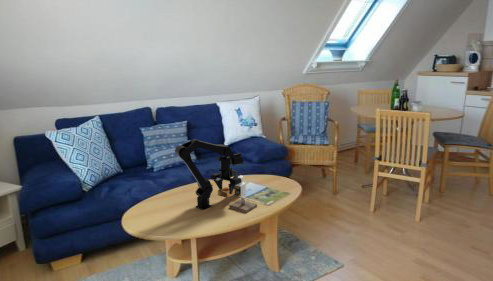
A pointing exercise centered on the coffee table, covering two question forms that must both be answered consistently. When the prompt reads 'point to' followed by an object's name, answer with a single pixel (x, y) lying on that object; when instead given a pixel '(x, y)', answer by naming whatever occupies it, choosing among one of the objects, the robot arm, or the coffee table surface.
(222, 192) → the brown hollow square block
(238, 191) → the medicine bottle
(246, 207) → the keeper plate
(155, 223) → the coffee table surface
